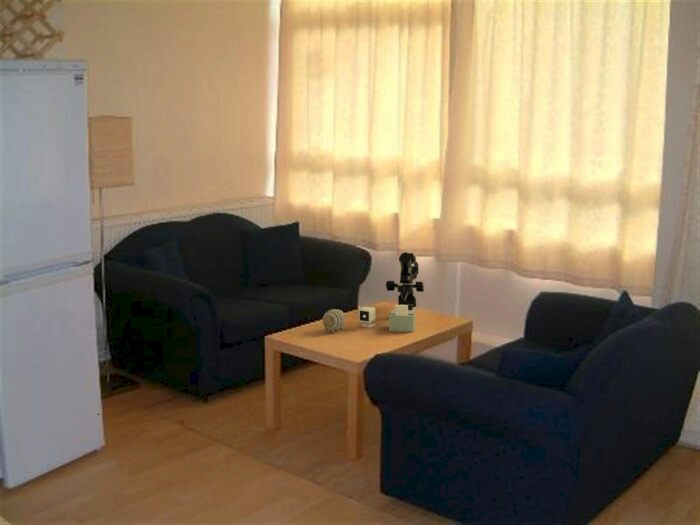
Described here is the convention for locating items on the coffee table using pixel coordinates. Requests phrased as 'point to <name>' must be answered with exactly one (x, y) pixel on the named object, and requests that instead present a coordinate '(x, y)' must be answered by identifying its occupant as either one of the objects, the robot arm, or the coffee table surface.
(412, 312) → the green napkin box
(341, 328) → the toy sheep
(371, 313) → the security camera
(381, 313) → the coffee table surface
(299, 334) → the coffee table surface
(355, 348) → the coffee table surface
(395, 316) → the green envelope with card
